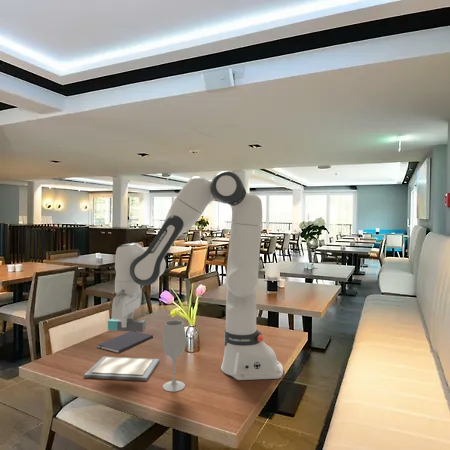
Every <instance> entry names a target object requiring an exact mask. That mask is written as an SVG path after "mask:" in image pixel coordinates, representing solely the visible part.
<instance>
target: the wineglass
mask: <svg viewBox="0 0 450 450" xmlns="http://www.w3.org/2000/svg"><path fill="white" fill-rule="evenodd" d="M162 333H163V334H162V341H161V344H162V345H161V346H162V349H163V352H165V354H166V355H167V356H168V357H169V358H171V359H172V380H170V381H167V382H165V383H164V384H163V385H162V389H163V390H164V391H165V392H169V393H175V392H180V391H182V390H184V389H185V388H186V384H185V383H184V382H183V381H180V380H176V360H177V358H179V356H181V355H182V354H183V352H184V351H185V349H186V345H187V337H186V328H185V324H184V321H183V320H180V319H179V320H176V319H175V320H174V319H171V320H167V321H165V323H164V327H163V332H162Z"/></svg>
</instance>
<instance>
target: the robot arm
mask: <svg viewBox="0 0 450 450" xmlns="http://www.w3.org/2000/svg"><path fill="white" fill-rule="evenodd" d="M213 201H215V202H218V203H222V204H227V205H229V206H230V207H231V213H232V214H231V222H230V223H231V224H230V234H229V245H228V254H227V266H226V274H225V276H226V277H225V284H226V294H225V295H226V297H225V299H226V300H225V301H226V302H225V303H226V304H225V329H224V332H223V333H224V334H223V338H224V339H223V342H224V343H223V344H224V353H223V359H222V362H221V366H220V370H221V371H222V372H223V374H226V375H228V376H231V377H233V378H234V379H235V380H237V381H248V380H249V381H251V380H273V379H280V378H283V375H284V368H283V367H284V366H283V364H282V363H281V362H280V361H279V360H278V357H277V355H276V352H275V350H274V349H273V348H272V347H270V346H269V345H268V344H266V343H265V342H264V341H263V340H264V337H263V334H262V332H261V330H260V329H259V330H258V329H257V286H258V283H259V280H258V279H259V268H260V250H261V239H262V228H263V203H262V200H261V198H260V197H259V196H258V195H256V194H254V193H250V192H247V191H246V188H245V186H244V184H243V182H242V179H241V177H240V176H238V174H236V173H235V172H234V171H230V170H223V171H220V172H218V173H217V174H215V176H214V177H213V178H212V180H209V179H206V178H204V177H201V176H192V177H191V178H190V179H189V180H188V181H187V182H186V183H185V184H184V186H183V187H182V188H181V190H180V191H179V192H178V193H177V195H176V197H175V198H174V200H173V201H172V204H171V206H170V207H169V209H168V212H167V215H166V217H165V219H164V221H163V222H162V223H163V224H162V225H161V227H160V229H159V231H158V232H157V234H156V235H155V237H154V238H153V239H152V240H151V241H152V242H151V243H150V244H149V246H148V247H147V248H145V247H143V246H141V245H140V244H139V243H136V242H131V243H126V244H125V243H124V244H121V245H118V247H117V248H116V251H115V259H114V260H115V261H114V270H115V278H114V293H115V294H116V296H115V297H113V299H112V305H111V318H113V319H114V320H121V326H122V328H126V327H127V326H128V322H127V319H134V318H133V317H134V313H135V310H137V309H138V308H140V306H141V303H142V296H143V294H142V293H143V290H142V289H143V287H147V286H151V285H153V284H154V283H155V282H156V281H157V280H158V278H160V277H161V276H162V274H164V272H165V271H166V268H167V260H166V259H165V257H166V255H167V253H169V250H170V249H171V248H172V246H173V244H174V243H175V242H176V241H177V239H178V238H180V236H182V235H183V234H184V233H185V232H188V231H189V230H190V229H192V227H193V226H194V225H195V224H196V223H197V222H198V220H199V219H200V217H201V216H202V215H203V213H204V211H205V209H206V208H207V206H208V205H209V204H211V202H213Z"/></svg>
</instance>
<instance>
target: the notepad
mask: <svg viewBox="0 0 450 450" xmlns="http://www.w3.org/2000/svg"><path fill="white" fill-rule="evenodd" d="M159 363H160V358H147V357H146V358H144V357H127V356H126V357H125V356H124V357H122V356H119V357H118V356H102V357H101V358H100V359H99V360H98V361H96V363H95V364H94V365H93V366H92V367H90V368H89V369H88V370H87V371H86V372H85V373H84V374H83V378H85V379H87V378H88V379H104V380H105V379H107V380H124V381H125V380H128V381H145V382H146V381H148V380H149V379H150V377H151V375H152V373H153V372H154V371H155V369H156V367H157V366H158V365H159Z"/></svg>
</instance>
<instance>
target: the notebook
mask: <svg viewBox="0 0 450 450" xmlns="http://www.w3.org/2000/svg"><path fill="white" fill-rule="evenodd" d="M152 338H153V334H148V333H144V332H133V331H126V332H125V333H122V334H120V335H118V336H115V337H113V338H110V339H107V340H104V341H102V342H100V343H97V348H99V349H104V350H107V351H110V352H114V353H119V354H120V353H122V352H124V351H127V350H129V349H131V348H132V347H135V346H137V345H139V344H141V343H144V342H146V341H148V340H151V339H152Z"/></svg>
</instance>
